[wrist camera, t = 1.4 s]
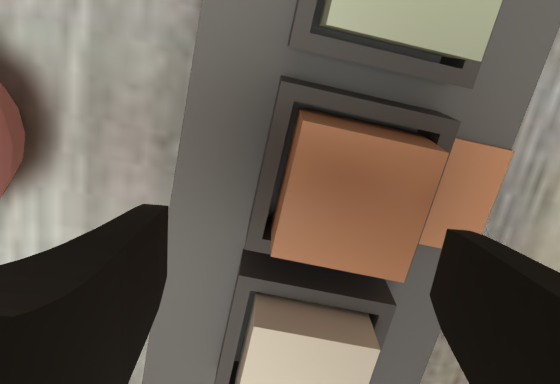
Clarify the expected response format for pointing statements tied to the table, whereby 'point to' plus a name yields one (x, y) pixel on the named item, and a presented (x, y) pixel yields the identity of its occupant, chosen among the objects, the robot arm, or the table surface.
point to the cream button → (306, 344)
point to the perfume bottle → (9, 139)
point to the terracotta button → (354, 195)
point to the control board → (272, 158)
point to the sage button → (417, 23)
